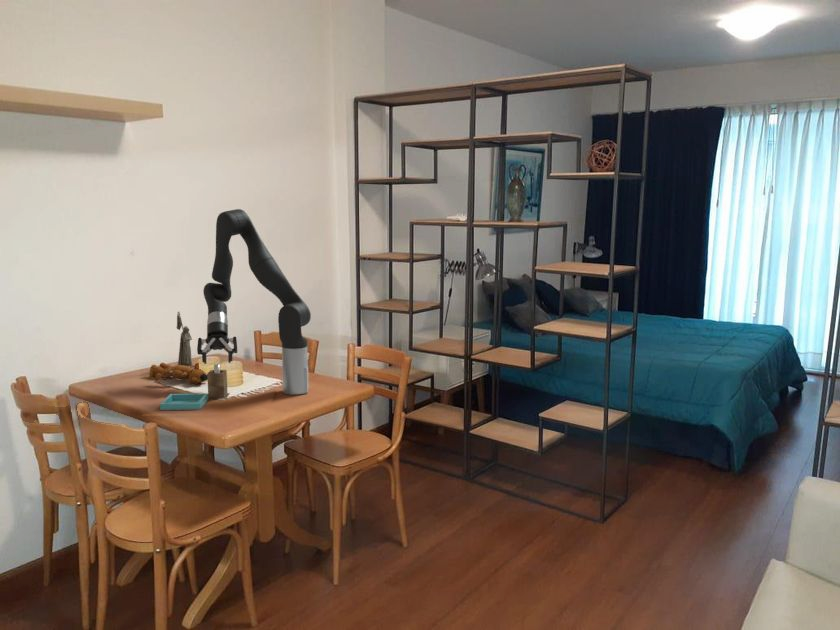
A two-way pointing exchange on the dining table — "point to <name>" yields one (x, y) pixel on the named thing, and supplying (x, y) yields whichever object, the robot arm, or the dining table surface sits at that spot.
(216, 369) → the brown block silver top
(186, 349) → the wizard figurine
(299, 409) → the dining table surface
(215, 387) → the sleeve
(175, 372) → the toy
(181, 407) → the tray
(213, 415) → the dining table surface
